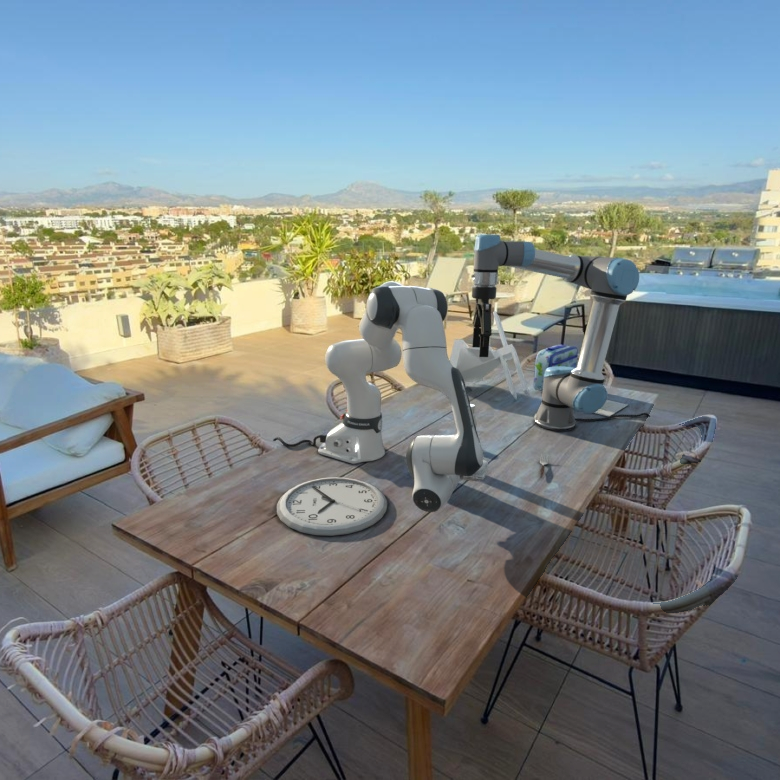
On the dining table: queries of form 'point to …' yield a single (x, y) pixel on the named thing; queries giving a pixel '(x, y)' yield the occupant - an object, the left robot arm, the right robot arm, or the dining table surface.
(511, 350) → the white plastic object
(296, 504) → the wall clock
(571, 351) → the lunch box
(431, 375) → the left robot arm
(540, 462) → the fork
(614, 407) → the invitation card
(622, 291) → the right robot arm
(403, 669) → the dining table surface
